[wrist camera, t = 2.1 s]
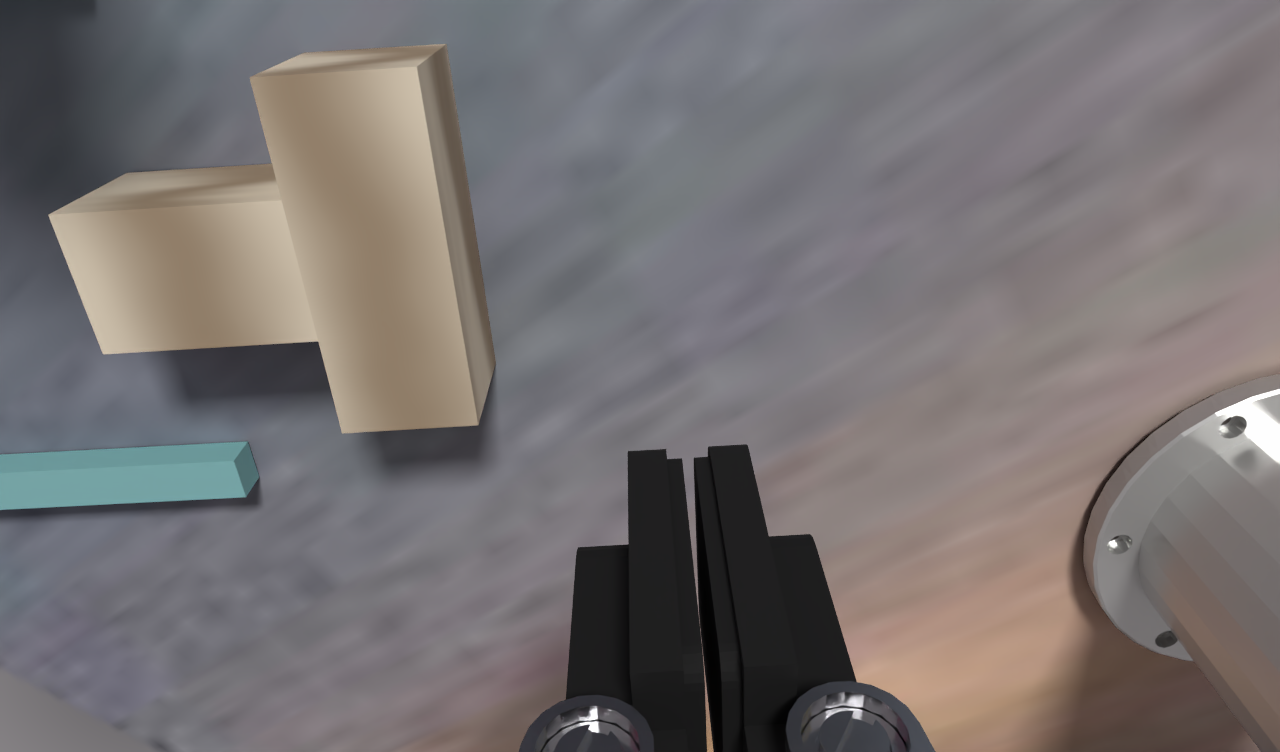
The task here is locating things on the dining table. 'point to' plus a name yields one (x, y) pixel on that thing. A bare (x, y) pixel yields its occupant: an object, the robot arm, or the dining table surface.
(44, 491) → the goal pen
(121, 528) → the dining table surface
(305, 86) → the t block
